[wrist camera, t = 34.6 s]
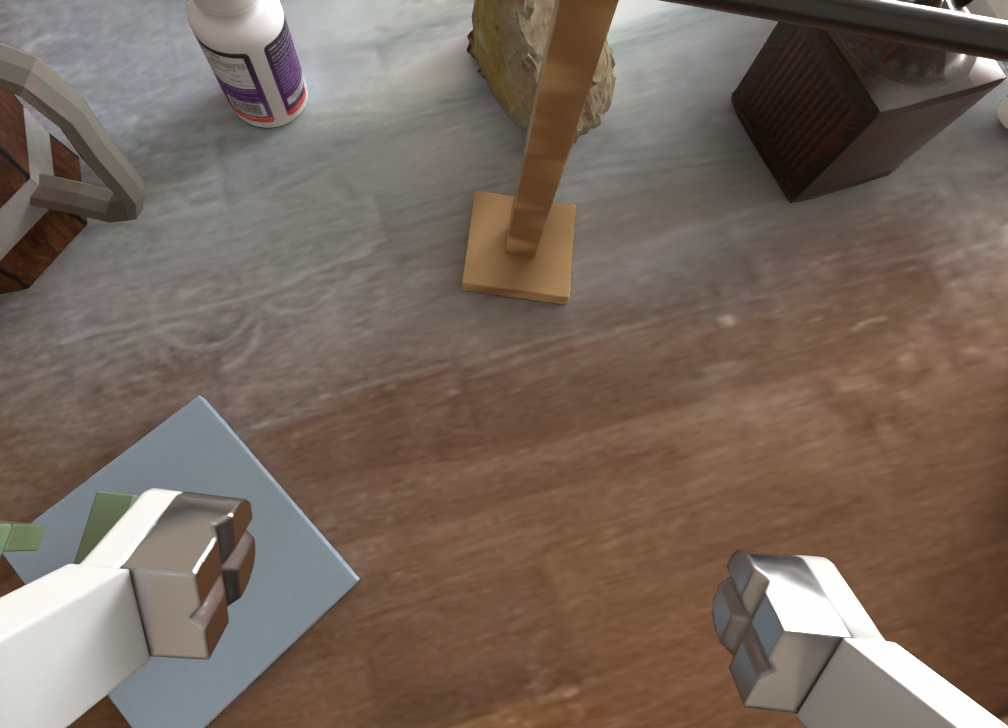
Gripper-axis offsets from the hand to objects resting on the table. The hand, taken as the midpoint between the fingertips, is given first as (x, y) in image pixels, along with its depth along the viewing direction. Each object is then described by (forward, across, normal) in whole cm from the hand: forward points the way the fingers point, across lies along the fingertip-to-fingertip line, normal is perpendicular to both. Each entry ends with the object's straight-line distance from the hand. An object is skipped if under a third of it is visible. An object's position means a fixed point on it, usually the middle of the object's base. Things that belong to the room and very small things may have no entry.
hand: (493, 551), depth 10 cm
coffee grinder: (+42, -23, -8) cm, 49 cm away
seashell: (+41, -2, -7) cm, 41 cm away
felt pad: (+15, +15, +18) cm, 28 cm away
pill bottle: (+37, +17, -3) cm, 41 cm away
